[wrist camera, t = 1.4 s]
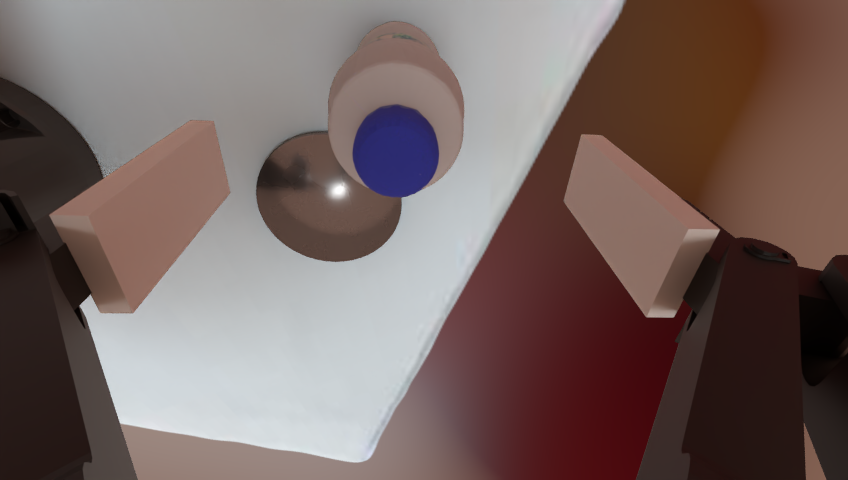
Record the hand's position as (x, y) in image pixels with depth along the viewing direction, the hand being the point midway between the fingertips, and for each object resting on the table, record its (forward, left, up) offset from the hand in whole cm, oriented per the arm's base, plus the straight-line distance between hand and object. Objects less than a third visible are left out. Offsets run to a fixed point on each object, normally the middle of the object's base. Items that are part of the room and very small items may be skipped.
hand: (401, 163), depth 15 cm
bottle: (0, 0, -20) cm, 20 cm away
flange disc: (-6, -12, -20) cm, 24 cm away
